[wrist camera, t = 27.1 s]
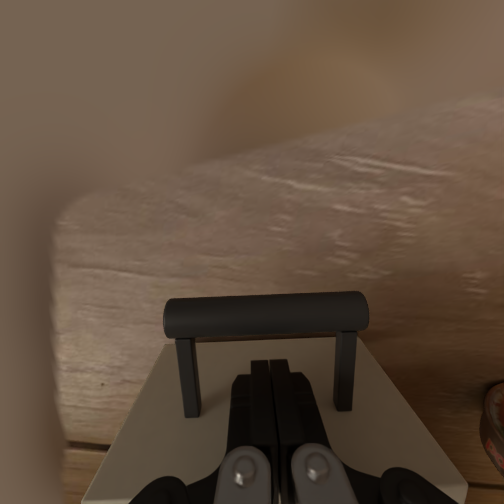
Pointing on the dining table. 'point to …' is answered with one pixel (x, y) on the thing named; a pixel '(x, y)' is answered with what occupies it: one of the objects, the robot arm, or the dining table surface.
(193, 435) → the drawer
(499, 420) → the tin
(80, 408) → the dining table surface
